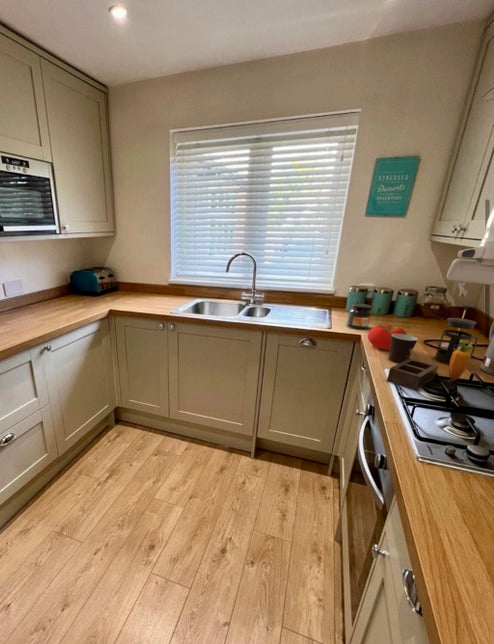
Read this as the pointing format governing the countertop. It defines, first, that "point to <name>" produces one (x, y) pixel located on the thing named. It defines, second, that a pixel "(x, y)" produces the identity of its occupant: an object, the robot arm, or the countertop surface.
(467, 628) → the countertop surface
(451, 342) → the french press
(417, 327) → the countertop surface
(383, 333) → the tomato
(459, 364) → the carrot
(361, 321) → the supplement container
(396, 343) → the coffee mug
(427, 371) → the brown rectangular box
